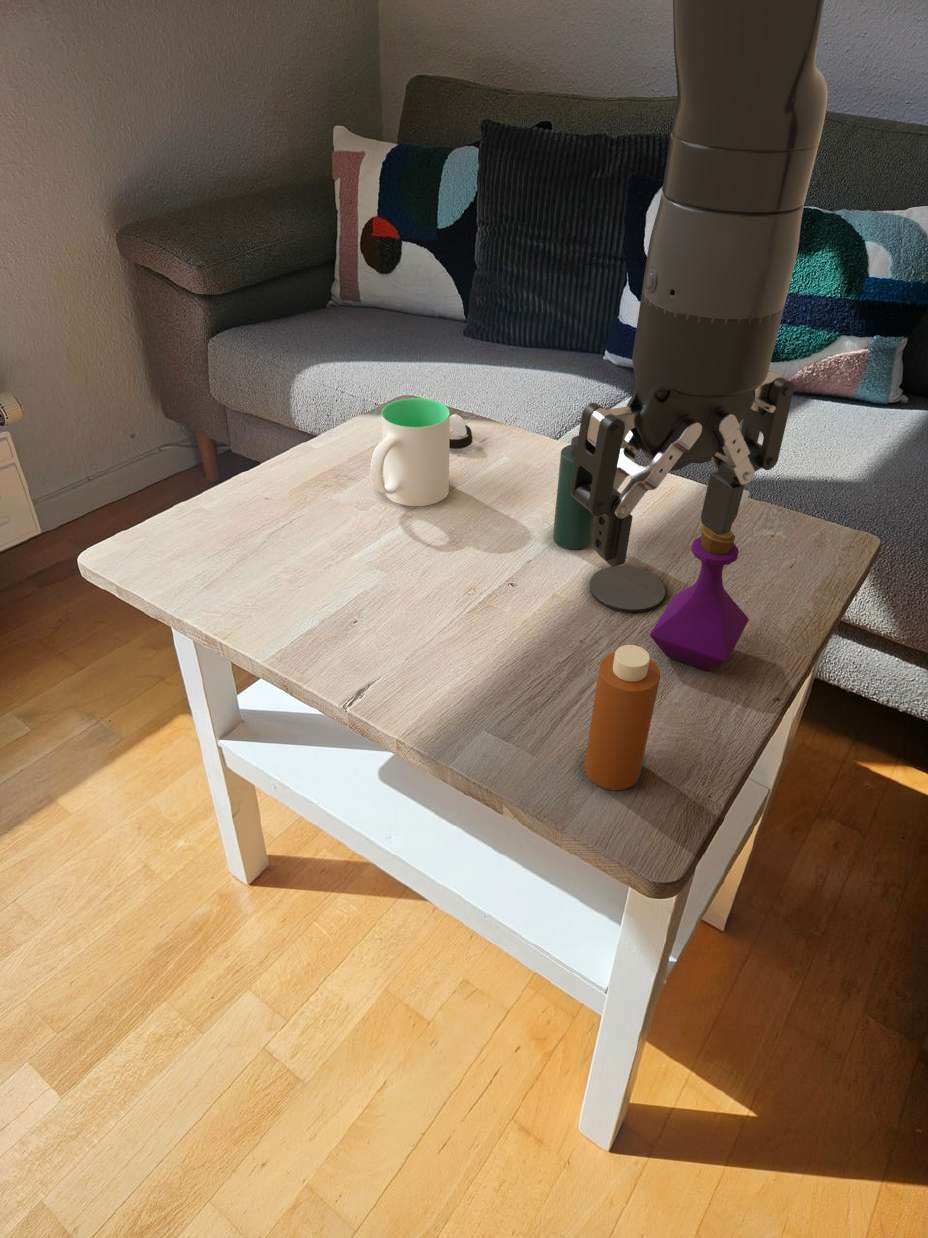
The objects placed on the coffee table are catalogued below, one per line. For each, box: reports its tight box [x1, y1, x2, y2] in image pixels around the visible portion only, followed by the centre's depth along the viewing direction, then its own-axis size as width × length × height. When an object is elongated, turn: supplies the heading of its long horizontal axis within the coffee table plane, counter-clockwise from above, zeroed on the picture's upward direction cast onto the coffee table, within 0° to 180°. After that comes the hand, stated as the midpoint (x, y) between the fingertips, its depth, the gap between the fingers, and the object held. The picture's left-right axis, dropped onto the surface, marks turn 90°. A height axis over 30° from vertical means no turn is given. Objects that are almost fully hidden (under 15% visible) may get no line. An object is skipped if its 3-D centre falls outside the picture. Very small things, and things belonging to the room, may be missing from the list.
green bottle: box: [552, 435, 595, 551], centre depth 97 cm, size 5×5×12 cm
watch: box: [449, 413, 473, 450], centre depth 119 cm, size 8×5×4 cm, turn 43°
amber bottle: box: [584, 644, 661, 791], centre depth 69 cm, size 5×5×12 cm
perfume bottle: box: [649, 489, 751, 672], centre depth 79 cm, size 8×8×18 cm
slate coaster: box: [588, 565, 666, 613], centre depth 93 cm, size 8×8×1 cm
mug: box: [369, 397, 451, 507], centre depth 104 cm, size 12×8×10 cm
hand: (663, 543), depth 56 cm, fingers open, 8 cm apart
